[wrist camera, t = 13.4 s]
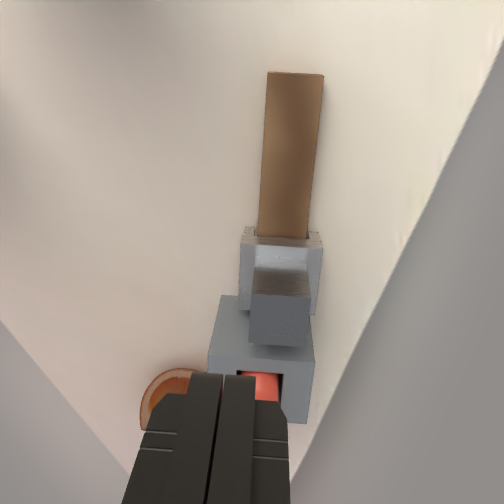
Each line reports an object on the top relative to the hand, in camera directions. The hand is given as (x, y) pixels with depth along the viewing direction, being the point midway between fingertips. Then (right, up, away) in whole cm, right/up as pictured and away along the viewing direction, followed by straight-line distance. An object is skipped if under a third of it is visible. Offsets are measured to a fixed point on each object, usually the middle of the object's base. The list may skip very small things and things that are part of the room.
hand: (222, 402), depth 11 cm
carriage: (+3, +3, +29) cm, 29 cm away
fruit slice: (-6, -10, +36) cm, 38 cm away
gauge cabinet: (+2, -3, +32) cm, 32 cm away
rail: (+3, +8, +27) cm, 28 cm away
